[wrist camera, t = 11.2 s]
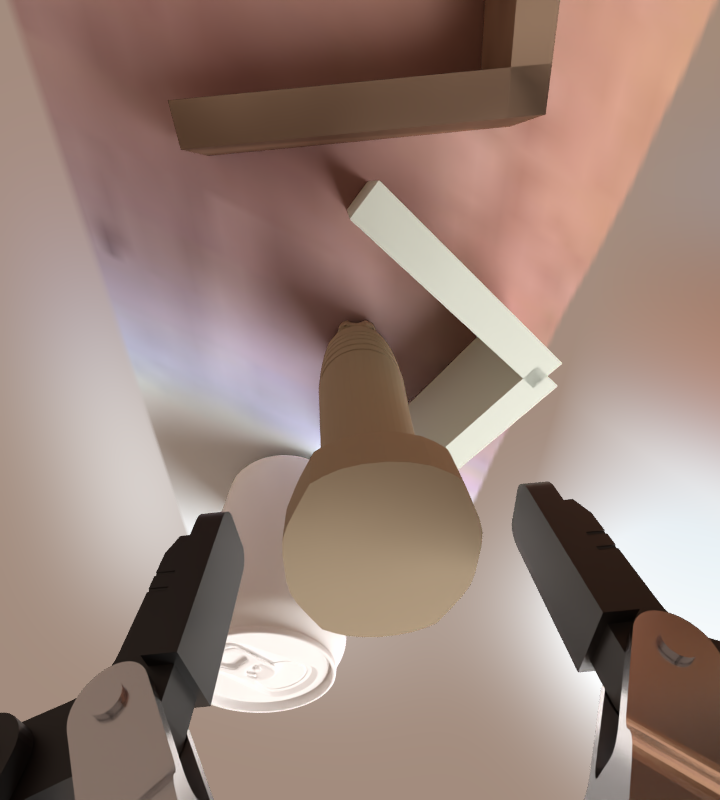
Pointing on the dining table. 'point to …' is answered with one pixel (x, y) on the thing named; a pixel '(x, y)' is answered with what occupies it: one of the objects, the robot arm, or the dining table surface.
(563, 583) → the robot arm
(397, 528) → the handle
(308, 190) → the dining table surface
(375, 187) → the cream l-shaped bracket
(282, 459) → the beverage can
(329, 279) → the dining table surface
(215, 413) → the dining table surface
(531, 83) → the u-shaped bracket
